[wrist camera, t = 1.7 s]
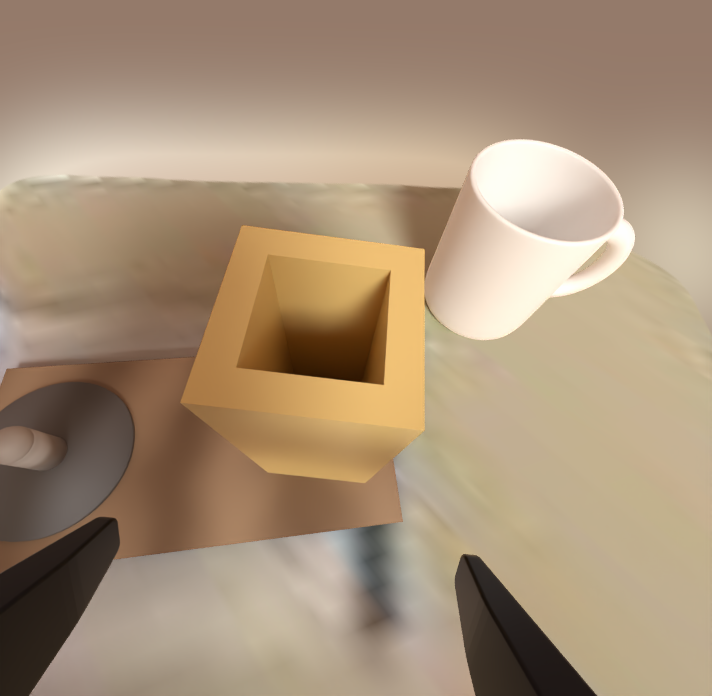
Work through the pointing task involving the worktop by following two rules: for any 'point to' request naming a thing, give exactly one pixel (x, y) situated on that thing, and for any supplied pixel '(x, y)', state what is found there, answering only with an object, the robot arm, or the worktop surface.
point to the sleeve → (314, 354)
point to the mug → (523, 237)
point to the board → (150, 468)
